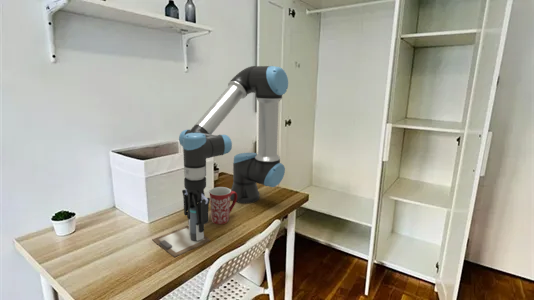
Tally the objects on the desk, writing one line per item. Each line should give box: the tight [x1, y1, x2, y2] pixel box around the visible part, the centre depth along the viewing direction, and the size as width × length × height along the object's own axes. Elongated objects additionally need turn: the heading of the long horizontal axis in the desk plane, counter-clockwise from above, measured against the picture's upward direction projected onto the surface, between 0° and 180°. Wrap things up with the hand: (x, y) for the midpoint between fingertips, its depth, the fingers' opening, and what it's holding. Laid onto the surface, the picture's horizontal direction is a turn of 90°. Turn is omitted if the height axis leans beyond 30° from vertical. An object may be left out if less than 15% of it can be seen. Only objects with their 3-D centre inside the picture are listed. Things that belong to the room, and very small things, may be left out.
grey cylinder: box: [190, 206, 199, 241], centre depth 107 cm, size 4×4×12 cm
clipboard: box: [152, 225, 211, 258], centre depth 108 cm, size 15×15×1 cm
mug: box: [208, 186, 237, 225], centre depth 124 cm, size 13×9×14 cm
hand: (196, 236), depth 109 cm, fingers closed on grey cylinder, 4 cm apart
